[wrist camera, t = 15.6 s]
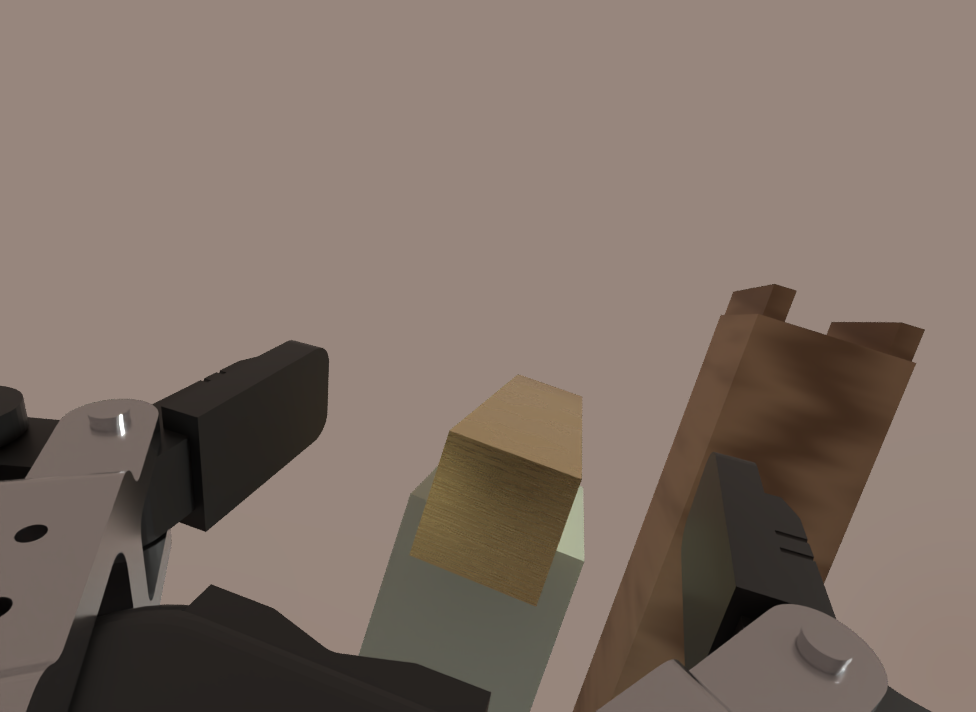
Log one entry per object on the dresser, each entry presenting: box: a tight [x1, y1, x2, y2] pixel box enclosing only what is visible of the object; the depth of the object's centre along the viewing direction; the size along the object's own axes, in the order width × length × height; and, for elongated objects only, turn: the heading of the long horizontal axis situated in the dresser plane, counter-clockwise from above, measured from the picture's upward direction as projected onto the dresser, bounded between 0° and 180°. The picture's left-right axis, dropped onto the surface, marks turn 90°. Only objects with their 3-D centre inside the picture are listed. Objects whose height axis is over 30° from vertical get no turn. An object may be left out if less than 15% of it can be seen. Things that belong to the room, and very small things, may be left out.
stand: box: [573, 284, 925, 712], centre depth 30 cm, size 7×7×34 cm
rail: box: [409, 375, 582, 607], centre depth 22 cm, size 4×15×4 cm, turn 170°
